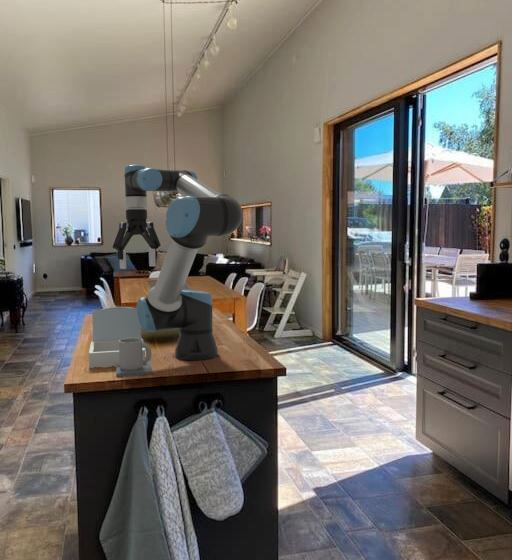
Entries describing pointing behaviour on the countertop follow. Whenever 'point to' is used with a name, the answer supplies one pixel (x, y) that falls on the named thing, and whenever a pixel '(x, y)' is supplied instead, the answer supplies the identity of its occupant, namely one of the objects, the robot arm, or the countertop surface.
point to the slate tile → (144, 370)
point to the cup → (133, 353)
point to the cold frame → (112, 335)
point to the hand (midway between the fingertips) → (138, 267)
